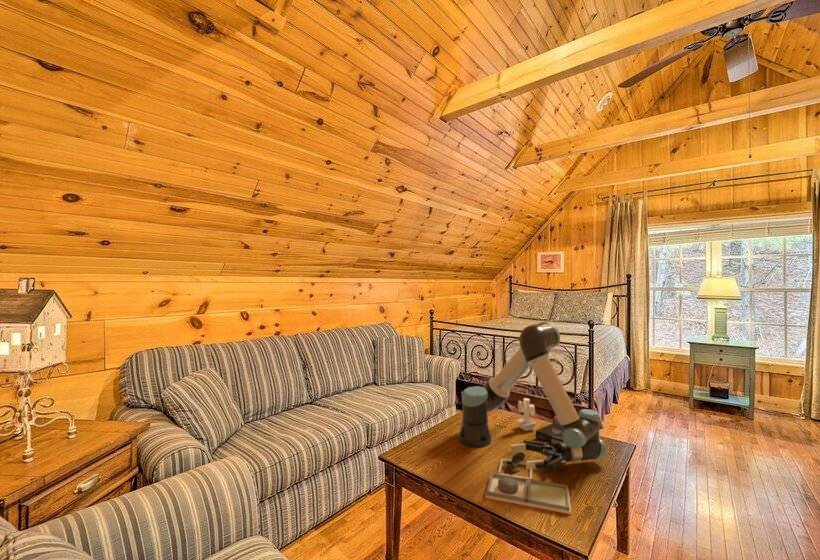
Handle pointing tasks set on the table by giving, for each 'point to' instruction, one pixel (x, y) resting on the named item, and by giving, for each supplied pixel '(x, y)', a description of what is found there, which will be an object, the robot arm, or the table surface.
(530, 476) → the white square frame
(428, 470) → the table surface
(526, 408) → the figurine
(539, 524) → the table surface
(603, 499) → the table surface
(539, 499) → the tray
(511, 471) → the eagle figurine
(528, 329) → the robot arm
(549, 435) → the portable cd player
